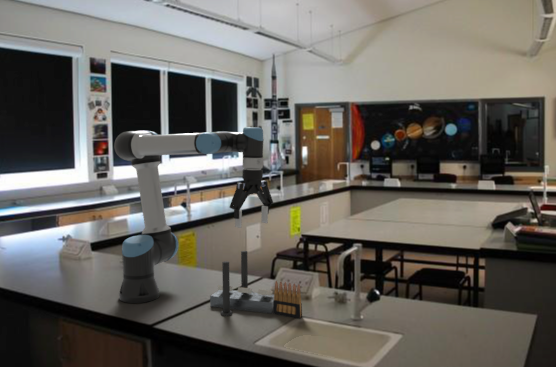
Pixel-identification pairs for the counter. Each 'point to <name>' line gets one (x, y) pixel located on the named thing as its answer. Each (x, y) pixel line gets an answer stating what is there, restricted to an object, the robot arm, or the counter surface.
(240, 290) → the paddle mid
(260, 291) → the paddle right
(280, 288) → the ammunition clip
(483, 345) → the counter surface
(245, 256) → the cord post far
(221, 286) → the paddle left
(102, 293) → the counter surface
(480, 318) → the counter surface
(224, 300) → the cord post near
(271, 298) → the breaker panel
